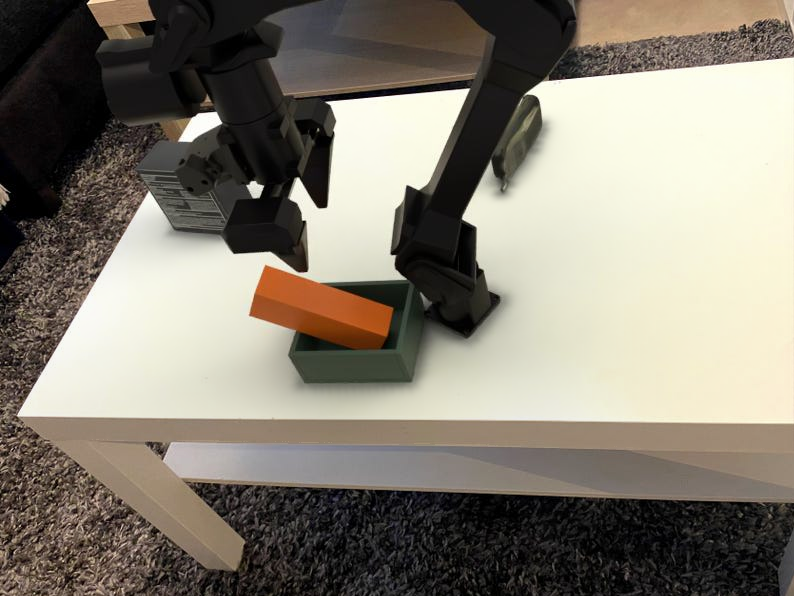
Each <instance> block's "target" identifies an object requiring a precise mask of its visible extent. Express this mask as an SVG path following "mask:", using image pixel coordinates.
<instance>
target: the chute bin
mask: <svg viewBox="0 0 794 596" xmlns="http://www.w3.org/2000/svg"><path fill="white" fill-rule="evenodd" d="M320 283H321V284H324V285H327V286H330V287H333V288H336V289H339V290H342V291H345V292H348V293H351V294H354V295H356V296H359V297H362V298H365V299H368V300H371V301H374V302H377V303H380V304H383V305H386V306H389V307H392V308H394V309H393V313H392V318H391V322H390V327H389V331H388V335H387V338H386V340H385V342H384V344H383V346H382V348H381V349H380V350H355V349H352V348H349V347H346V346H343V345H340V344H336V343H333V342H330V341H327V340H324V339H321V338H317V337H314V336H311V335H308V334H305V333H302V332H299V331H295V332H294V335H293V339H292V341H291V345H290V348H289V351H288V354H287V356H288V358H289V361H290V362H291V363H292V365H293V367H294V368H295V370H296V372H297V373H298V375H299V376H300V378H301V380H302V381H303V383H304V384H333V383H335V384H337V383H340V384H341V383H345V384H346V383H412V382H413V378H414V373H415V368H416V362H417V358H418V352H419V347H420V343H421V337H422V331H423V326H424V320H425V315H424V312H425V310H426V309H427V308H426V305H425V302H424V299H423V297H422V296H423V295H422V293H421V292H420V291H419V290H418V289H417V288H416V287H415V286H414V285H413V284H412V283H411V282H410V281H409V280H407V279H387V280H386V279H385V280H384V279H383V280H358V281H357V280H355V281H333V282H331V281H330V282H320Z"/></svg>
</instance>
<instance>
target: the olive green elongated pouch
mask: <svg viewBox="0 0 794 596" xmlns="http://www.w3.org/2000/svg"><path fill="white" fill-rule="evenodd" d="M542 113H543V112H542V106H541V101H540V98H539V97H538V96H537V95H535V94H527V93H526V94H525V96H524V97H523V98H522V100H521V102H520V104H519V106H518V108H517V110H516V112H515V114H514V116H513V118H512V120H511V122H510V123H509V125H508V127H507V129H506V131H505V133H504V135H503V137H502V139H501V141H500V143H499V145H498V147H497V149H496V151H495V153H494V155H493V157H492V159H491V161H490V163H491V167H492V172H493V175H494V177H495V179H499V180H501V182H502V184H501V186H500V187H499V191H500V192H501V193H504V192H505V191H506V189H507V187H508V185H509V182H510V180H511V178H512V176H513V175H514V174H515V172H516V170H517V169H518V167H519V166H520V165H521V164H522V162H523V161H524V160H525V158H526V155H527V154H528V152H529V150H530V149H531V147H532V146H533V144H534V142H535V140H536V139H537V137H538V136H539V134H540V132H541V129H542V127H543V115H542Z"/></svg>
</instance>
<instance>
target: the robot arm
mask: <svg viewBox="0 0 794 596" xmlns="http://www.w3.org/2000/svg"><path fill="white" fill-rule="evenodd" d="M327 1H330V0H147V4H148V5H147V6H148V7H149V9H150V12H151V14H152V17H153V18H154V20H155V27H154V32H153V34H151V35H146V36H140V37H133V38H126V39H125V38H110V39H105V40H103V41H101V44H100V45H99V47H98V49H97V50H96V52H95V55H94V57H95V58H96V60H97V61H98V63H99V65H100V66H101V81H102V87H103V91H104V94H105V97H106V99H107V101H106V105H107V107H108V108H109V110H110V112H111V113H112V114H113V116H114V117H115V118H116V119H117V120H118V121H119V122H120V123H121V124H123V125H125V126H127V127H138V126H142V125H143V126H145V125H150V124H151V125H153V124H158V123H165V122H172V121H178V120H185V119H186V120H187V119H192V118H195V117H197V116H198V114H199V113H200V110H201V105H202V104H204V103H205V102H206V100H207V97H208V99H209V100H210V102H211V105H212V106H213V108H214V110H215V112H216V115H217V116H218V118H219V121H220V122H221V123H220V124H219V125H216V126H214V127H212V128H211V129H209V130H207V131H205V132H202V133H201V134H199V135H198V136H196V137H195V138H194V139H192V141H190V142H191V143H190V145H189V147H188V149H187V151H186V153H185V155H184V157H183V158H182V159H180V160H179V162H178V164H177V166H176V168H175V170H174V172H175V174H176V176H177V178H178V180H179V183H180V185H181V186H182V188H183V189H185V190H186V191H187V192H188V193H189V194H190V195H192V196H195V197H200V196H202V195H204V194H206V193H209V192H211V191H213V190H214V189H215V187H217V186H219V185H221V184H223V183H225V182H228V181H230V180H231V179H234V181H235V183H236V185H237V186H243V185H246V186H250V185H251V183H252V182H255V183H256V184H257V185H259V186H263V187H262V190H261V193H260V196H259V197H253V198H251V199H238V200H236V202H235V203H234V205H233V207H232V208H231V211H230V213H229V216H228V218H227V220H226V223H225V225H224V228H223V230H222V232H221V234H220V237H221V238H222V240H223V241H224V243H225V245H226V246H227V248H228V249H229V251H230V252H231V253H232V254H233V255H245V254H257V253H259V254H261V253H271V254H273V255H274V256H275V257H277V258H278V259H279V260H281V261H282V262H283V263H285V264H286V266H289V267H290V268H291V269H292V270H293V271H295V272H296V273H299V274H304V273H308V272H309V269H310V267H309V266H310V265H309V261H310V260H309V259H310V258H309V242H308V226H307V225H308V223H307V220H306V219H304V220H303V213H302V210H301V207H300V206H299V204H298V202H296V201H294V200H293V199H291V196H292V194H293V191H294V188H295V185H296V182H297V179H299V180H300V182H301V184H302V186H303V188H304V190H305V192H306V193H307V195H308V196H309V198H310V200H311V201H312V203H313V204H314V205H315V207H316V208H317V209H319V210H322V209H328V208H329V207H328V206H329V197H330V187H331V186H330V185H331V174H332V162H333V152H334V142H335V137H336V133H335V131H334V130H335V127H336V124H337V119H336V116H335V114H334V110H333V108H332V105H331V104H329V102H326V101H325V100H323V99H321V98H319V97H314V98H305V99H295V96H294V94H289V95H284V93H283V90H282V88H281V85H280V84H279V81H278V78H277V76H276V74H275V71H274V70H273V67H272V65H271V62H270V60H269V59H274V58H276V57H277V56H278V55H279V51H280V49H281V45H282V42H283V39H284V36H285V29H284V27H282V26H281V25H278V24H276V23H274V22H272V21H267V20H266V19H267V18H269V17H271V16H272V15H274V14H277V13H279V12H280V13H281V12H282V11H285V10H289V9H293V8H299V7H303V6H309V5H313V4H317V3H323V2H327ZM453 1H454V2H455V3H456V4H457V5H458V6H459V7H460V8H461V9H462V10H463V11H464V12H465V13H466V14H467V15H468V16H469V17H470V19H472V21H474V22H475V23H476V24H477V25H478V27H480V28H481V29H483V30H484V31H486V32H487V34H486V39H485V45H484V49H483V54H482V59H481V62H480V65H479V67H478V69H477V71H476V74H475V76H474V77H473V80H472V83H471V85H470V88H469V90H468V92H467V94H466V96H465V99H464V100H463V103H462V105H461V107H460V110H459V113H458V115H457V117H456V119H455V122H454V124H453V126H452V129H451V131H450V133H449V136H448V138H447V140H446V143H445V145H444V147H443V149H442V152H441V154H440V156H439V159H438V161H437V163H436V165H435V168H434V170H433V172H432V174H431V177H430V179H429V181H428V183H427V184H426V185H424V186H422V187H421V188H419V189H418V188H415V187H413V186H411V185H409V184H406V185H405V189H404V196H403V200H402V201H401V203H400V204H399V205H398V206H397V207H396V208H395V210H394V217H393V225H392V233H391V234H392V235H391V243H390V252H389V254H390V256H394V264H393V265H394V270H395V271H396V272H398V273H399V275H400V276H402V277H403V278H405V280H409V281H410V282H411V283H412V284H413V285H414V286H415V287H416V288H417V289H418V290H419V291H420V293H421V296H423V297H424V298H425V300H427V301H428V302H429V303H431V304H430V305H428V307H427V308H426V310H425V312H424V315H425V316H424V318H425V319H427V320H429V321H431V322H434V323H435V324H438V325H440V327H444V328H445V329H448V330H450V331H451V332H454V333H455V334H458V335H459V336H461V337H464V338H469V337H470V336H472V335H473V333H474V332H475V331H476V330H477V329H478V328H479V326H480V325H481V324H482V323H483V322H484V321H485V320H486V318H487V317H489V315H490V314H491V313H492V312H493V311H494V309H495V308H496V307H497V306H498V305H499V304H500V303H501V300H502V299H501V296H500V295H499V294H497V293H495V292H493V291H490V290H489V288H488V287H489V286H488V282H487V279H486V274H485V271H484V269H483V268H481V267H480V265H479V262H478V260H477V248H478V247H477V244H478V243H477V242H478V227H477V226H475V225H474V224H472V223H470V222H469V221H467V220H464V219H463V217H464V214H465V213H466V211H467V208H468V207H469V205H470V202H471V201H472V200H473V197H474V195H475V193H476V191H477V189H478V187H479V185H480V183H481V181H482V179H483V177H484V175H485V173H486V171H487V169H488V167H489V165H490V163H491V159H492V157H493V155H494V153H495V151H496V149H497V147H498V145H499V143H500V141H501V139H502V137H503V135H504V133H505V131H506V129H507V127H508V125H509V123H510V122H511V120H512V118H513V116H514V114H515V112H516V110H517V108H518V106H519V105H520V103H521V101H522V99H523V97H524V96H525V95H527V93H529V92H530V91H532V90H533V89H534V88H536V87H537V86H538V85H540V84H541V83H542V82H544V81H545V80H546V79H547V78H549V76H550V74H551V73H553V71H554V70H555V69H556V67H557V65H558V64H559V63H560V62H561V60H562V59H563V58H564V56H565V55H566V54H567V52H568V51H569V50H570V48H571V46H572V45H573V44H574V40H575V37H576V35H577V28H578V23H577V22H578V21H577V12H576V6H575V0H453Z"/></svg>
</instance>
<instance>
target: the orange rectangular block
mask: <svg viewBox="0 0 794 596" xmlns="http://www.w3.org/2000/svg"><path fill="white" fill-rule="evenodd" d="M321 283H322V282H318V281H314V280H313V279H310V278H309V279H308V278H306V277H303V276H300V275H296V274H295V273H291V272H288V271H286V270H282V269H279V268H277V267H274V266H270V265H267V264H265V265H264V266H263V269H262V272H261V275H260V278H259V280H258V283H257V285H256V288H255V291H254V293H253V297H252V298H253V299H252V301H251V304H250V310H249V314H248V316H249V317H252V318H254V319H257V320H261V321H263V322H267V323H271V324H273V325H276V326H277V325H278V326H280V327H283V328H287V329H289V330H292V331H295V332H296V331H299V332H302V333H305V334H308V335H311V336H314V337H317V338H321V339H324V340H327V341H330V342H333V343H336V344H340V345H343V346H346V347H349V348H352V349H355V350H380V349H381V348H382V346H383V344H384V342H385V340H386V338H387V335H388V331H389V327H390V322H391V318H392V313H393V309H394V308H392V307H389V306H386V305H383V304H380V303H377V302H374V301H371V300H368V299H365V298H362V297H359V296H356V295H354V294H351V293H348V292H345V291H342V290H339V289H336V288H333V287H330V286H327V285H324V284H321Z"/></svg>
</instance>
